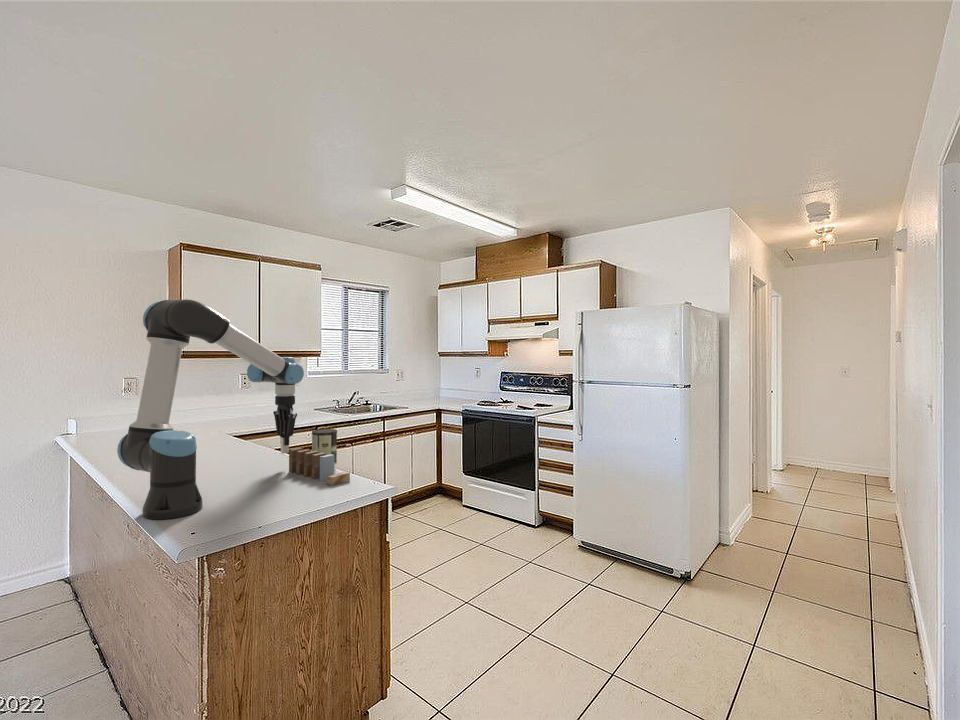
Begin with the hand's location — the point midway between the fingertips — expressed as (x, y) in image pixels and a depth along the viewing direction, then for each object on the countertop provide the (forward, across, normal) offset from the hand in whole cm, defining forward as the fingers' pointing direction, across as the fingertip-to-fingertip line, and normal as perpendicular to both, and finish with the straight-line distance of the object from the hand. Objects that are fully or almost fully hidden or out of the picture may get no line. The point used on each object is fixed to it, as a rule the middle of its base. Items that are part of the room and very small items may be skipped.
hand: (284, 452), depth 197 cm
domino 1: (+6, -8, 0) cm, 10 cm away
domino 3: (+6, -17, 0) cm, 18 cm away
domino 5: (+6, -27, 0) cm, 28 cm away
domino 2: (+6, -12, 0) cm, 14 cm away
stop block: (+6, -33, 0) cm, 34 cm away
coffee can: (+7, -6, -15) cm, 17 cm away
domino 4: (+6, -22, 0) cm, 23 cm away
